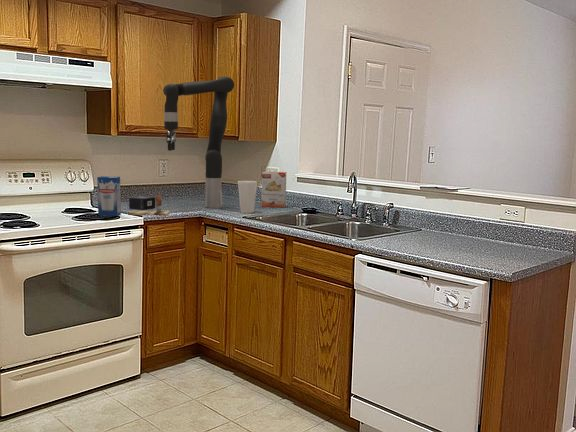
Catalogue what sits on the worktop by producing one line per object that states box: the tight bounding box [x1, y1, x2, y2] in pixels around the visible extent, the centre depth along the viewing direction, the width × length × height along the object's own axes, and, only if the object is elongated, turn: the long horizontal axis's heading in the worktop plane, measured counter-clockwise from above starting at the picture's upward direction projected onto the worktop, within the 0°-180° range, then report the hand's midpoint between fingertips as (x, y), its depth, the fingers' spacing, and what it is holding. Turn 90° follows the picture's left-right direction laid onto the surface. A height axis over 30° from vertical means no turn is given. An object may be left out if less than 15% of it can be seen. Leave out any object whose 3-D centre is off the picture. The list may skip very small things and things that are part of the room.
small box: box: [128, 195, 156, 211], centre depth 343 cm, size 11×6×10 cm
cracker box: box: [261, 170, 287, 208], centre depth 359 cm, size 14×6×21 cm, turn 83°
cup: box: [237, 180, 258, 214], centre depth 334 cm, size 11×10×17 cm
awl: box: [155, 194, 162, 212], centre depth 321 cm, size 3×3×9 cm
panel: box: [128, 210, 171, 216], centre depth 322 cm, size 20×9×1 cm, turn 90°
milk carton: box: [96, 175, 122, 217], centre depth 312 cm, size 10×6×20 cm, turn 89°
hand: (171, 150), depth 337 cm, fingers open, 8 cm apart
